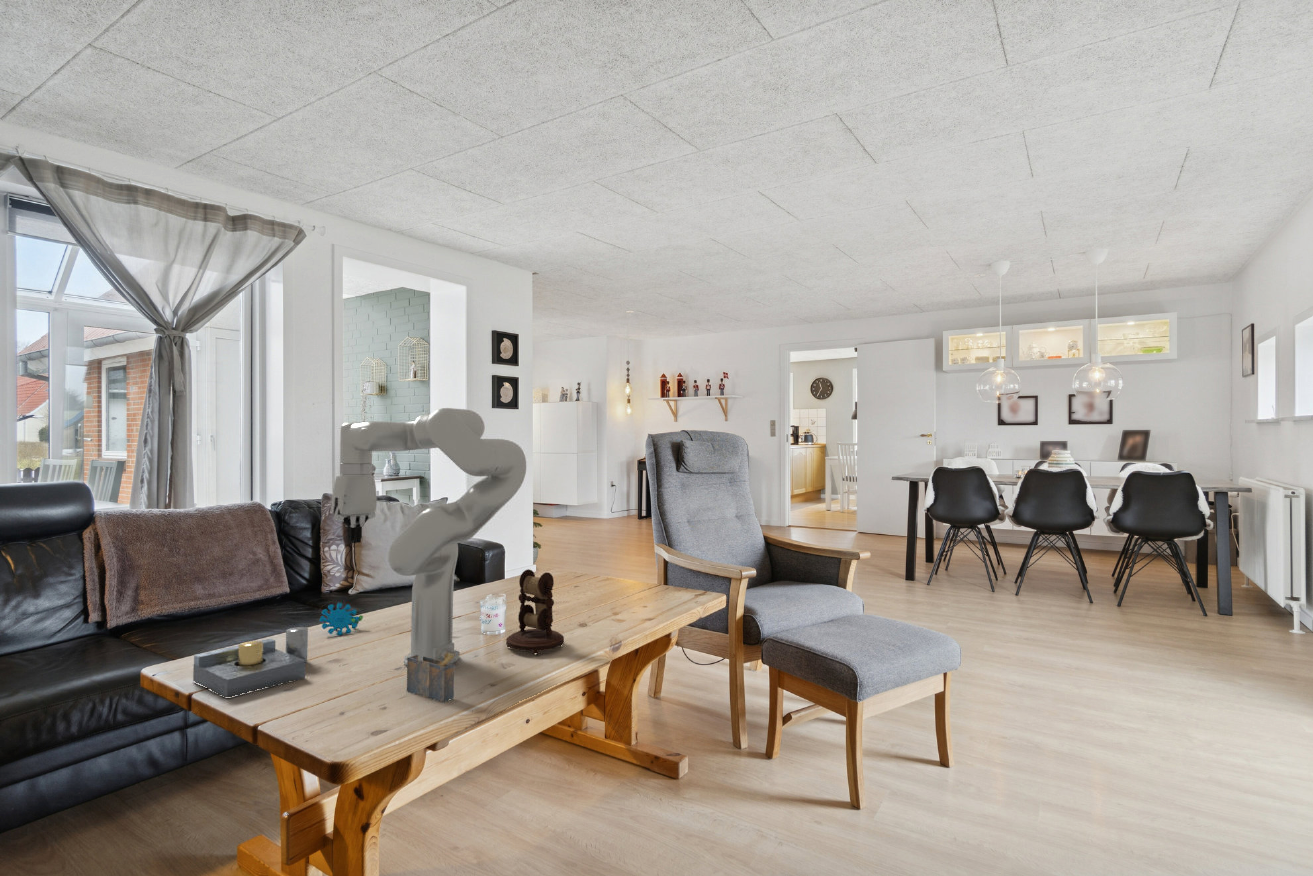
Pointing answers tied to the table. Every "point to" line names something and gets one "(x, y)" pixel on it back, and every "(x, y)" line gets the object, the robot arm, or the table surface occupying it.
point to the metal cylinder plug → (297, 642)
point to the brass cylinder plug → (250, 653)
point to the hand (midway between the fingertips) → (354, 542)
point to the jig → (245, 670)
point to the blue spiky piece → (340, 619)
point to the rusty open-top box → (431, 677)
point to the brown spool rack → (535, 615)
